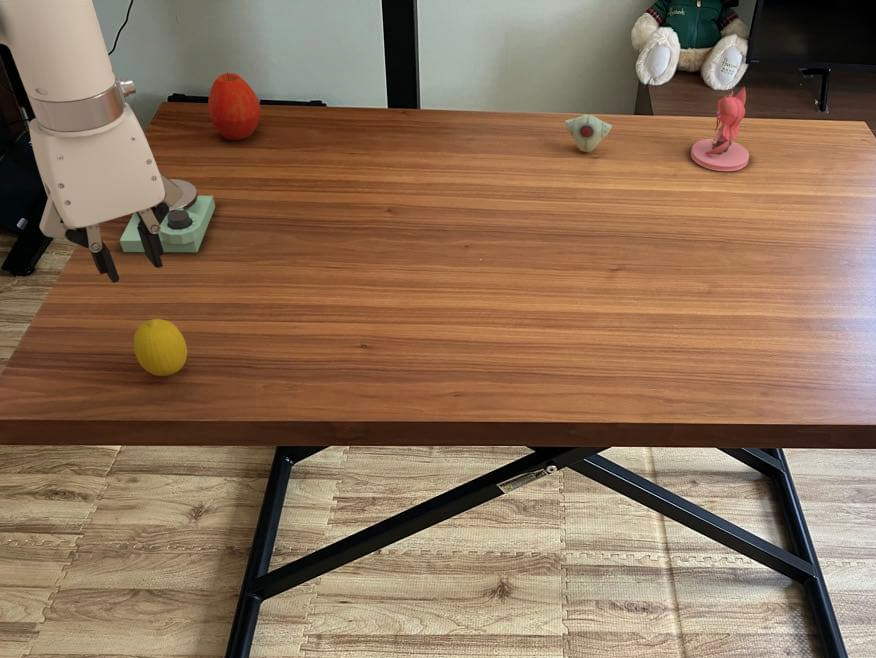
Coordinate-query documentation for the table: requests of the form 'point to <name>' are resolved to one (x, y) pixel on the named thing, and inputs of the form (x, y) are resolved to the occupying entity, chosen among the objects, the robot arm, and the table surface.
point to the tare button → (179, 220)
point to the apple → (233, 107)
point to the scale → (171, 238)
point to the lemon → (160, 347)
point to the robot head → (587, 131)
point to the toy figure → (724, 138)
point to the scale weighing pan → (184, 196)
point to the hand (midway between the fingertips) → (133, 267)
